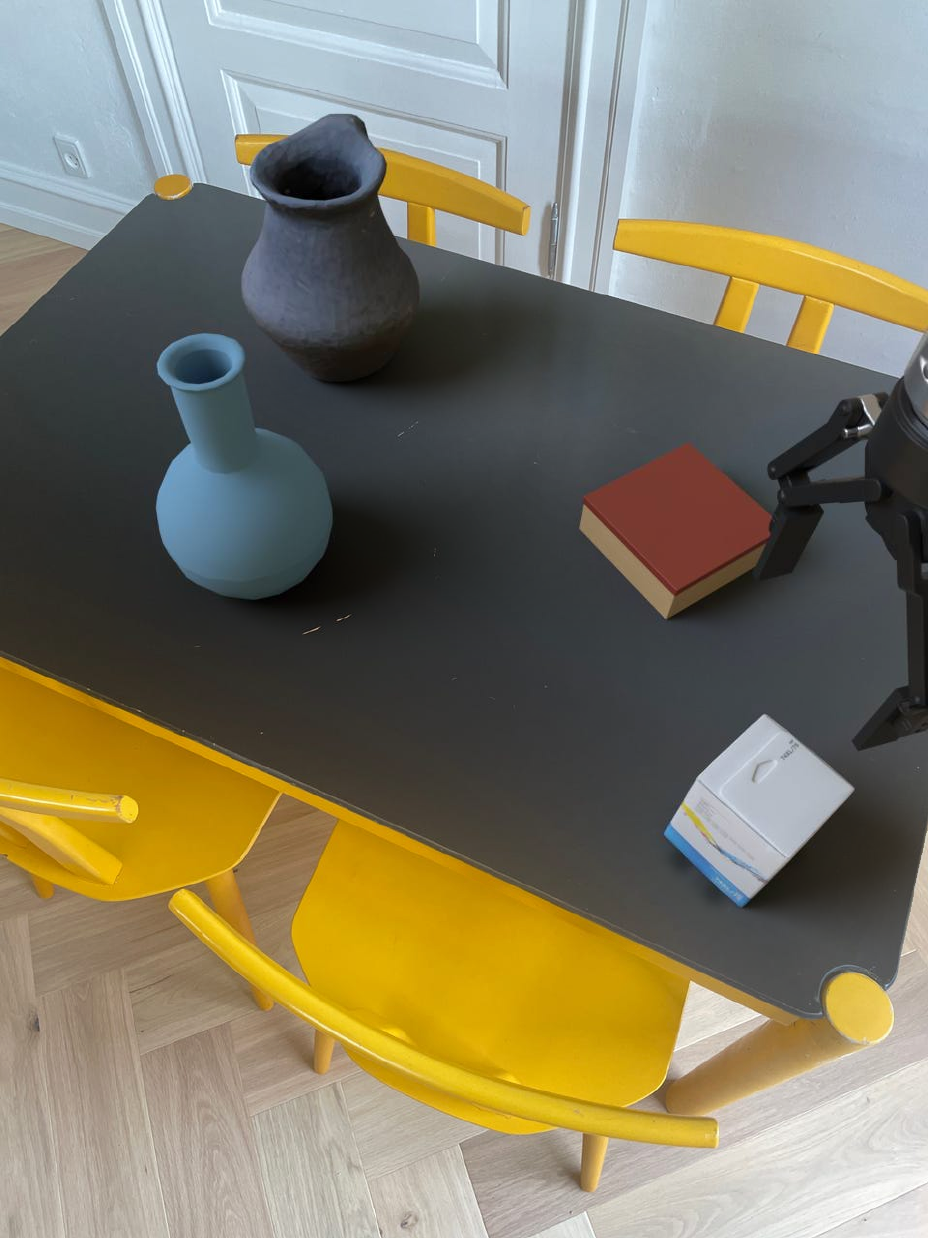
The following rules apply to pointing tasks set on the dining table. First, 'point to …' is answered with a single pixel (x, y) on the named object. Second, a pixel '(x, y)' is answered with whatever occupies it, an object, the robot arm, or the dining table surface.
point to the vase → (236, 482)
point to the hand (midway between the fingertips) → (819, 651)
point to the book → (676, 528)
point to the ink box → (755, 809)
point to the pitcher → (328, 253)
